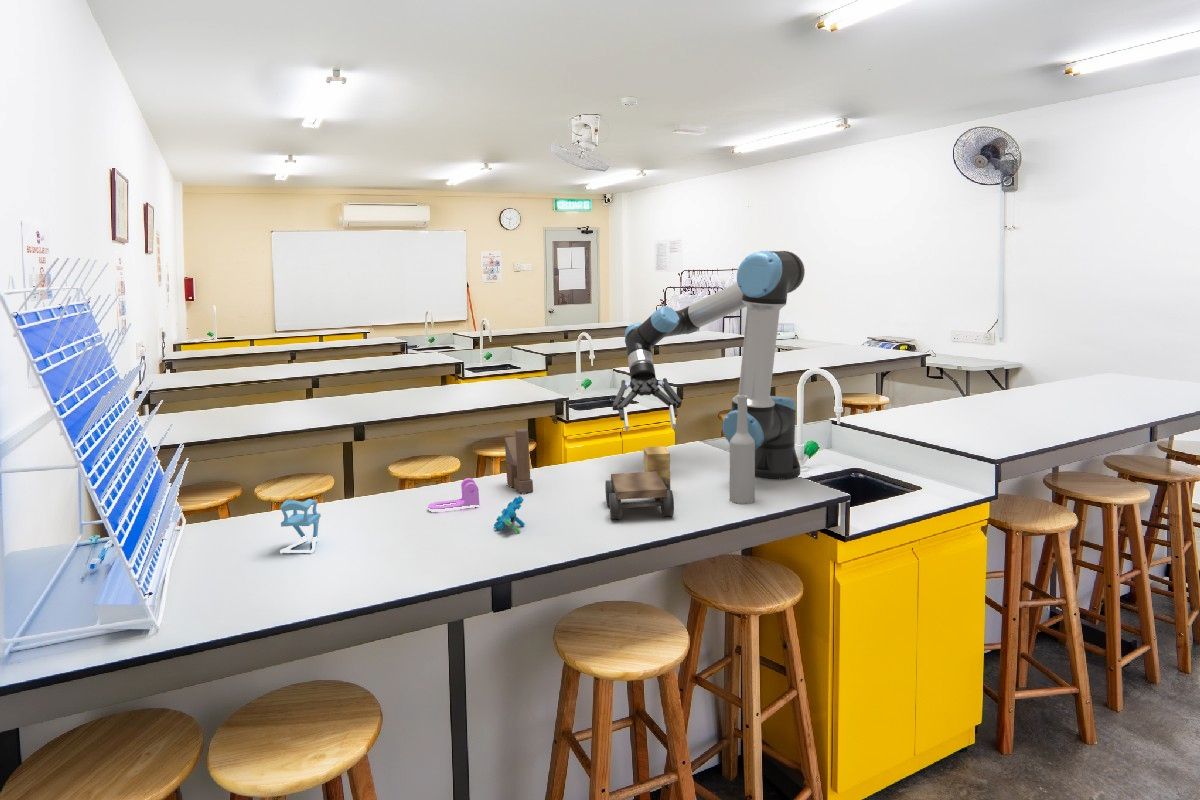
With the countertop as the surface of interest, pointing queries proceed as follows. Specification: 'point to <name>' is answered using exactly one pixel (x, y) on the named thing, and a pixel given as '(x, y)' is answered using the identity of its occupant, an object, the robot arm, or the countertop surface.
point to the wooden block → (518, 461)
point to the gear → (510, 515)
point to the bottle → (742, 459)
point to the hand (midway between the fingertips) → (650, 427)
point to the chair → (300, 515)
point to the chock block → (658, 462)
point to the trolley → (638, 492)
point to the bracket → (468, 496)
